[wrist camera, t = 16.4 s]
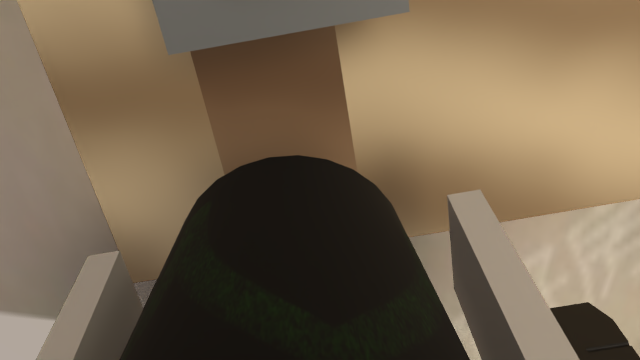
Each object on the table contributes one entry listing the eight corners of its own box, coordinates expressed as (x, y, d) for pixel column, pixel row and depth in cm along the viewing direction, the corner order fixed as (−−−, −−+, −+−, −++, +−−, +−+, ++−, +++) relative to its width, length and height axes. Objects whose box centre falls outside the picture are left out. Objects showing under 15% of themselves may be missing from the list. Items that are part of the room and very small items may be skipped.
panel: (-43, -205, 14) (-69, -210, 13) (989, -411, 13) (1049, -433, 12) (139, 261, 21) (131, 283, 20) (834, 145, 20) (864, 161, 19)
